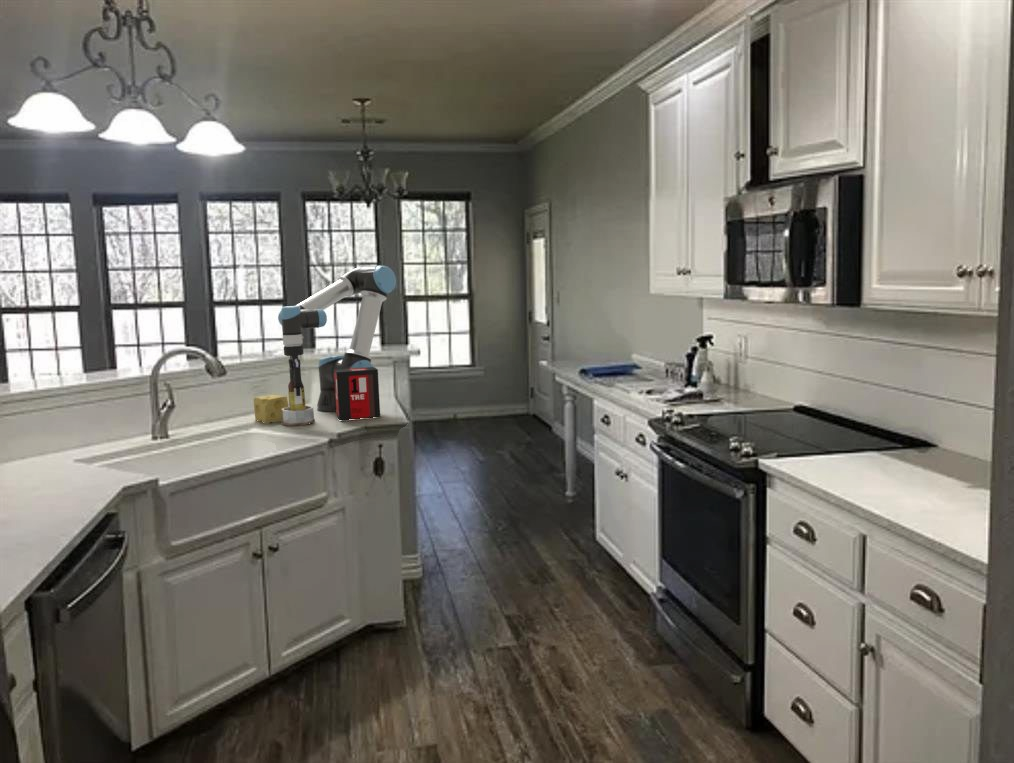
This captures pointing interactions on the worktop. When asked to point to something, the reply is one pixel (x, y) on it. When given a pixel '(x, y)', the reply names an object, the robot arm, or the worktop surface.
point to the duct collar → (297, 415)
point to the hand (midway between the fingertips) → (297, 402)
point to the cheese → (269, 408)
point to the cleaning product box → (357, 393)
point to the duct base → (297, 423)
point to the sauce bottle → (292, 399)
